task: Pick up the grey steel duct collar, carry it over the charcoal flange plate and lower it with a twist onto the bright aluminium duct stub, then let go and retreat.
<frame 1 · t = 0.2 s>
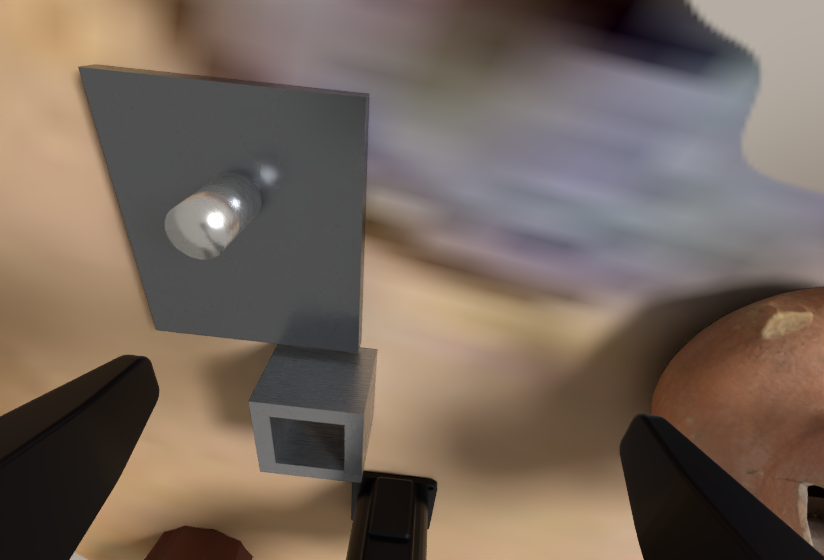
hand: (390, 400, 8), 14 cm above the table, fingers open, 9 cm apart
ceramic jug: (762, 370, 25), on the table
flange plate: (250, 226, 22), on the table
muffin: (207, 548, 41), on the table
collar: (329, 379, 28), on the table
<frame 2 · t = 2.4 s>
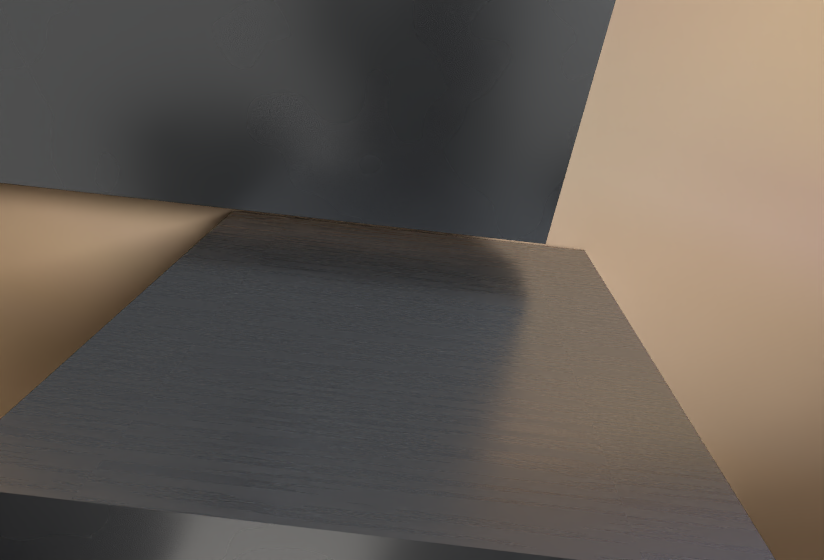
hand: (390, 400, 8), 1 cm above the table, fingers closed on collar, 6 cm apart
collar: (395, 362, 9), on the table, touching gripper
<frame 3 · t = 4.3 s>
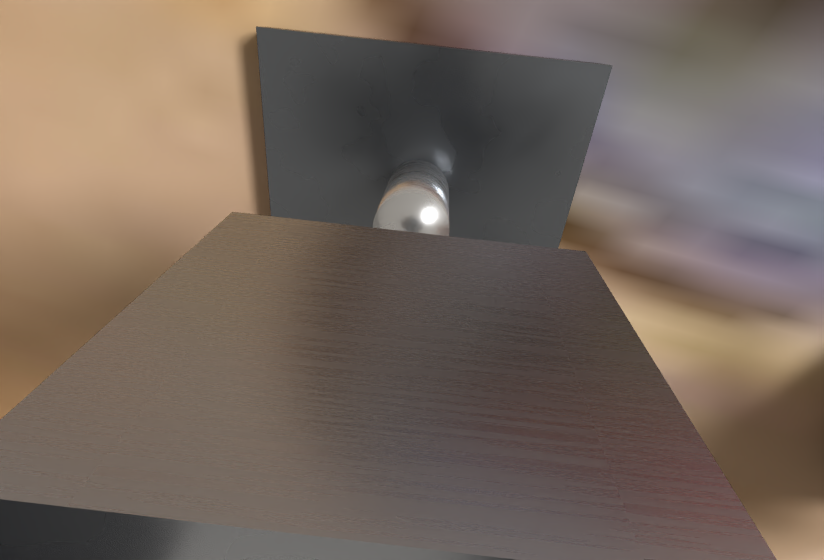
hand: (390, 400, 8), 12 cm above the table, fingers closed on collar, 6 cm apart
flange plate: (414, 227, 19), on the table
collar: (395, 363, 9), point 11 cm above the table, touching gripper
when the fingers open (3 cm above the table, at t = 6.2 s): collar stays where it is, resting on flange plate.
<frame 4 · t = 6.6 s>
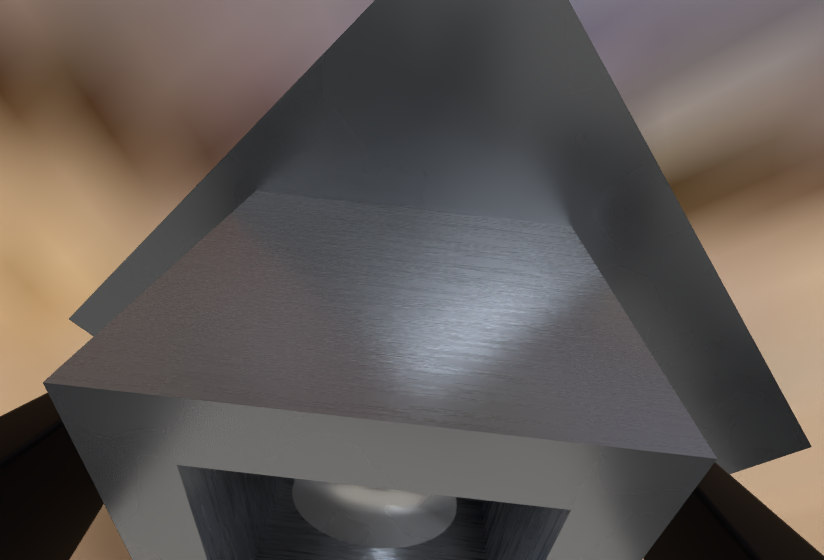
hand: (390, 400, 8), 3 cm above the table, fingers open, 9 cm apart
flange plate: (451, 357, 11), on the table
collar: (400, 332, 10), point 1 cm above the table, touching flange plate
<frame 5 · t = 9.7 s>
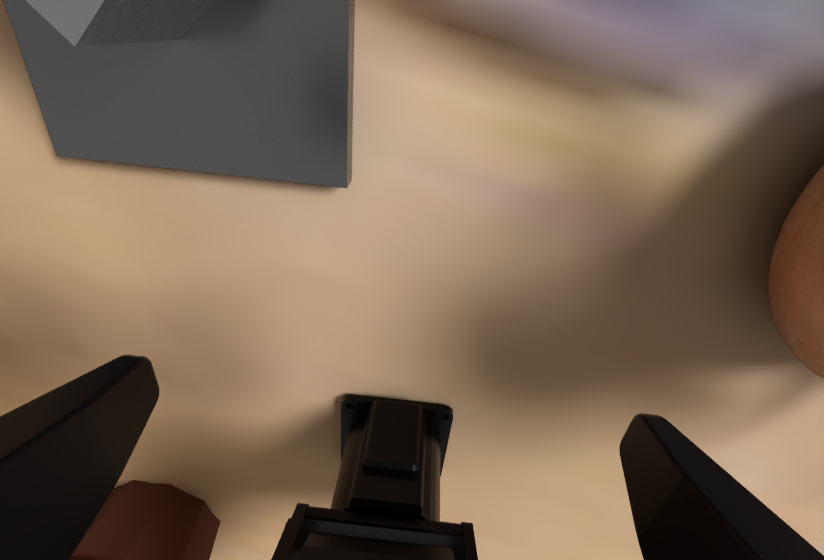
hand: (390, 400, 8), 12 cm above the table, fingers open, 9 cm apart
muffin: (164, 511, 33), on the table
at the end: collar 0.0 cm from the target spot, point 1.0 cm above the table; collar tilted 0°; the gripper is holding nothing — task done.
